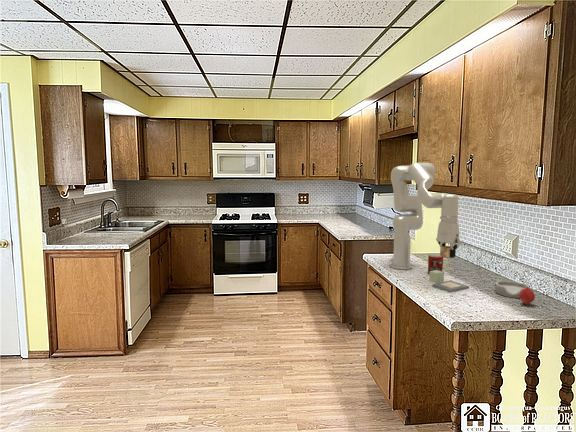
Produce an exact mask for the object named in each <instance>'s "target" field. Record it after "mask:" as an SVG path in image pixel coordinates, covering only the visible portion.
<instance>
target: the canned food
mask: <svg viewBox="0 0 576 432" xmlns="http://www.w3.org/2000/svg"><path fill="white" fill-rule="evenodd" d="M427 261H428V262H427V274H428V275H429V273H430V271H434V270H438V271H442V272H444V271H443V270H444V269H443V266H444V257H440V252H437V253H436V252H432V253H431V252H430V253H428V259H427Z"/></svg>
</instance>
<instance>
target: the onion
mask: <svg viewBox="0 0 576 432" xmlns="http://www.w3.org/2000/svg"><path fill="white" fill-rule="evenodd" d="M529 287H530V286H529ZM529 287H526V288H525V289H523V290H521V291H520V293H519V297H520V298H519V299H520V301H521V302H522V303H524V304H525V305H529V304H531V303H533V302H534V301H535V299H536V295H535V292H534V291H533V290H532V289H531V288H530V289H529Z"/></svg>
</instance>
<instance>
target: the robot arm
mask: <svg viewBox="0 0 576 432" xmlns="http://www.w3.org/2000/svg"><path fill="white" fill-rule="evenodd" d="M435 175H436V167H435V166H434V164H433V163H431V162H413V163H412V164H411V163H410V165H398V166H394V167H393V168H392V170H391V172H390V181H391V185H392V190H393V204H394V209H395V211H396V212H399V213H401V214H397V215H394V217H393V219H392V226H393V227H392V228H393V257H391V258H390V259H389V261H390V262H391V264H390V267H391V268H392V269H394V270H395V269H396V270H402V271H405V270H412V269H413V264H411V244H412V243H411V235H410V234H409V231H418V230H420V229H422V227H423V223H424V217H423V206H424V207H425V208H427V209H440V213H441V214H440V217H439V219H440V221H439V223H438V225H437V226H438V227H437V234H436V238H435V241H436V242H437V243H438V245H439V248H440V247H441V246H447V244H449V246H451V250H450V258H449V259H453V257H455V258H456V256H455V254H457V253H456V251H457V249H458V248H459V247H460V246H461V245H462V241H461V240H460V227H459V222H458V219H459V217H458V216H459V214H458V213H459V196H458V194H454V193H447V192H434V193H433V192H431V193H430V192H429V191H428V190H429V189H430V188H431V187H433V186H434V183H435V179H434V176H435ZM405 181H414V183H415V184H416V186H417V190H416V191H417V193H416V194H417V195H410V194H409V187H408V185H407V183H406V182H405Z"/></svg>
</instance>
